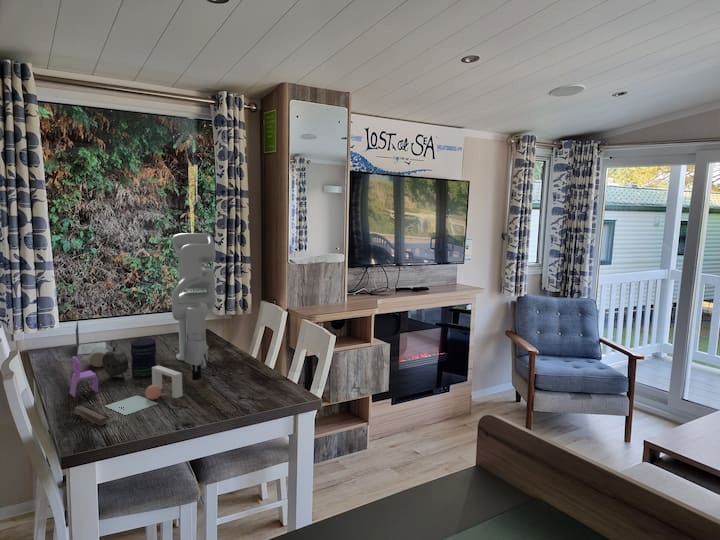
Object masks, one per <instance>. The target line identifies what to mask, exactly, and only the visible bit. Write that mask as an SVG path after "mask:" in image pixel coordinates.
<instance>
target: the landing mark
mask: <svg viewBox="0 0 720 540" xmlns="http://www.w3.org/2000/svg"><path fill="white" fill-rule="evenodd" d="M153 405H154V406H156V405H159V403H158V402H155V401H154V400H151V399H149V398H147V397H143V396H140V395H138V394H137V395H134V396H131V397H128V398H125V399H121V400H119V401H116V402H113V403H109V404H106V405H104V406H105V408H106V407H107V409H109V410H111V409H112V410H111V411H113V410H114V411H113V412H115V411H116V412H115V413H118V412H119V413H118V414H120V413H121V414H120V415H122V414H123V415H122V416H124V415H126V416H129V415H131V414H135V413H137V412H139V411H143V410H146V409H147V408H150V406H151V407H154V406H153ZM119 407H120V408H119ZM121 407H122V409H121ZM123 407H124V408H123ZM123 409H124V410H123ZM142 409H143V410H142ZM128 414H129V415H128Z"/></svg>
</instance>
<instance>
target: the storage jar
mask: <svg viewBox="0 0 720 540" xmlns="http://www.w3.org/2000/svg"><path fill="white" fill-rule="evenodd" d="M156 342H157V340H156V339H154V338H138V339H135V340H132V341H131V342H130V356H131V378H132V379H134V380H138V381H139V380H140V381H144V379H145V380H150V379H152V367H155V366H158V364H157V360H156V355H157V345H156V344H157V343H156Z"/></svg>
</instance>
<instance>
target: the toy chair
mask: <svg viewBox="0 0 720 540" xmlns="http://www.w3.org/2000/svg"><path fill="white" fill-rule="evenodd" d="M72 368H73V372H74V373H73V374H72V377H71V380H70V382H71V384H70V389H69V392H68V394H69V393H70V394H71V395H72V396H73V397H75V398H76V389H77V385H78V382H80V381H82V380H86V379H92V385H91V388H92V389H91V388H90V389H91V390H92V391H94V392H95V391H96V392H98V391H99V388H98V387H99V378H98V377H97V374H96V373H95V372H93V371H92V370H90V369H89V370H86V371H83V367H82V363H81V361H80V360H79V359H78V357H76V356H72ZM81 371H82V372H81ZM96 392H95V393H96ZM70 394H69V395H70ZM71 395H70V396H71ZM72 396H71V397H72ZM73 397H72V398H73Z"/></svg>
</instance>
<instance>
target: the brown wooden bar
mask: <svg viewBox="0 0 720 540" xmlns="http://www.w3.org/2000/svg"><path fill="white" fill-rule="evenodd" d="M74 414H75V415H76V414H77V415H76V416H78V415H80V416H81V417H80V416H79V417H80V418H82V417H84V418H86V419H88V420H90V421H92V422H94V423H96V424H99V425H104V424H106V425H107V417H106V416H104V415H102V414H100V413H97V412H96V411H93V410H91V409H89V408H86V407H85V406H82V405H79V406H75V407H74ZM84 418H83V419H84ZM86 419H85V420H86ZM88 420H87V421H88ZM90 421H89V422H90ZM92 422H91V423H92ZM94 423H93V424H94ZM96 424H95V425H96ZM104 426H105V425H104Z"/></svg>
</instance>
